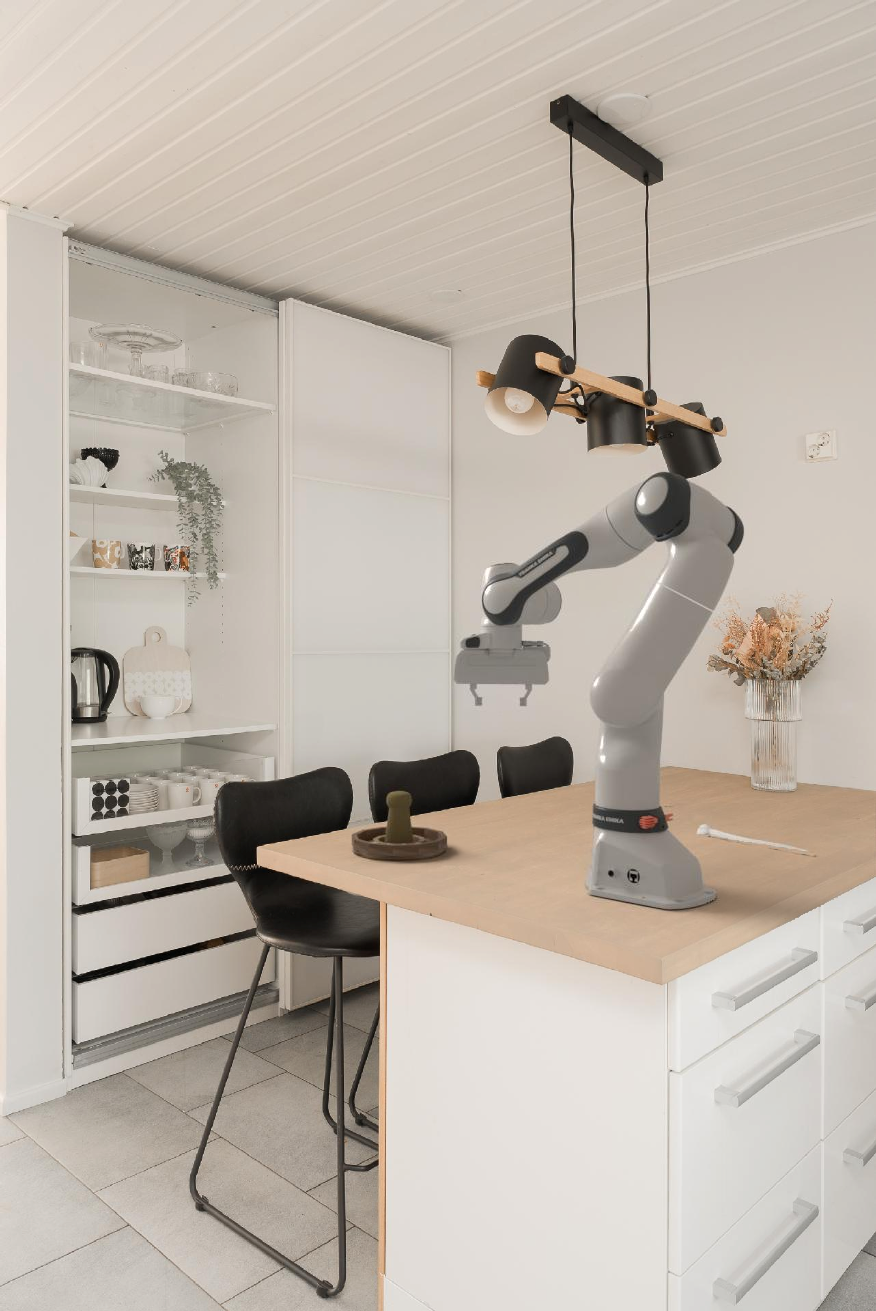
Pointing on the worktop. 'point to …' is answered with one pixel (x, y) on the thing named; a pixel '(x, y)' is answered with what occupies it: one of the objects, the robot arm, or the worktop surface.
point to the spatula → (738, 837)
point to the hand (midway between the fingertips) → (500, 705)
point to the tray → (399, 845)
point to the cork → (399, 818)
